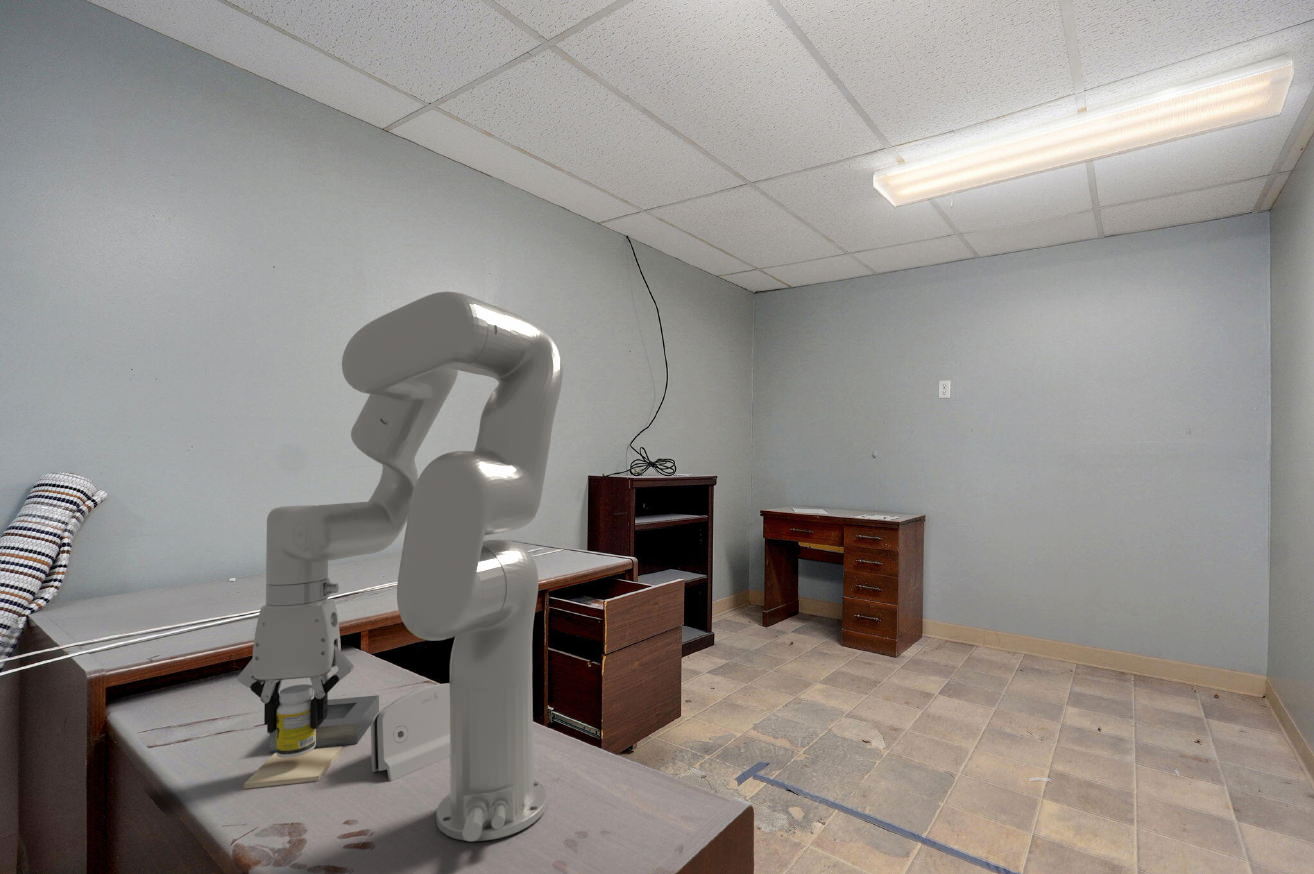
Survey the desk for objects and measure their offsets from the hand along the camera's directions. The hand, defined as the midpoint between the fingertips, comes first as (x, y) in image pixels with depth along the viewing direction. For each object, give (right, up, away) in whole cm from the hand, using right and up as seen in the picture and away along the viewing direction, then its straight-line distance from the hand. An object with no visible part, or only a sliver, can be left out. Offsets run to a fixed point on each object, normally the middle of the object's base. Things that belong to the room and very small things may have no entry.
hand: (296, 725), depth 84 cm
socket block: (-2, -7, +12) cm, 14 cm away
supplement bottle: (0, -4, 0) cm, 4 cm away
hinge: (+17, -6, +4) cm, 19 cm away
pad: (0, -6, 0) cm, 6 cm away
